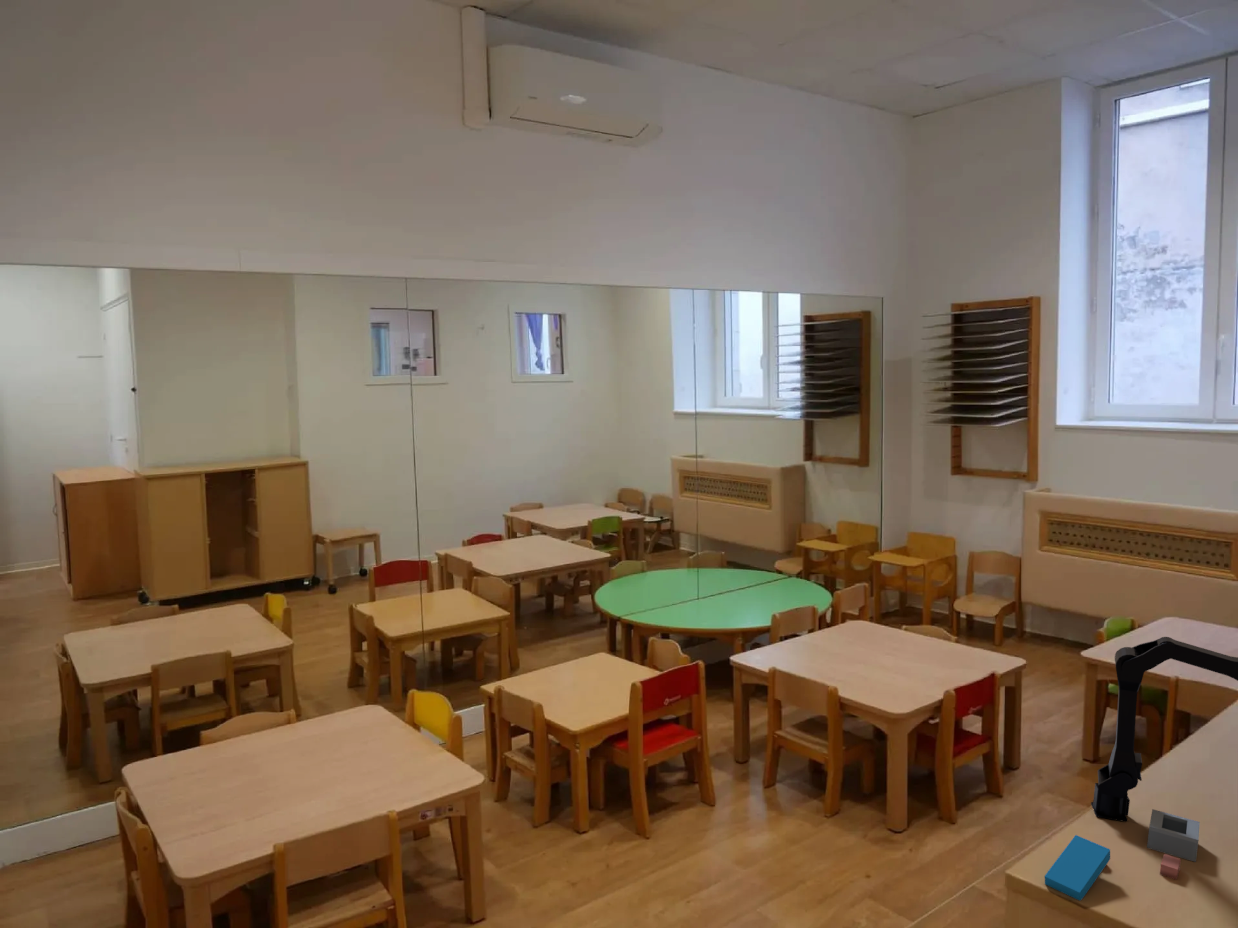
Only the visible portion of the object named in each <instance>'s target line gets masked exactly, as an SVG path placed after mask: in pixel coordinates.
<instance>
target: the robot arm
mask: <svg viewBox="0 0 1238 928" xmlns="http://www.w3.org/2000/svg"><path fill="white" fill-rule="evenodd" d="M1168 660H1173V661H1176V662H1177V661H1178V662H1180V663H1184V664H1188V665H1191V666H1193V667H1198V668H1201V669H1205V670H1207V671H1211V672H1214V673H1217V674H1221V675H1224V676H1226V677H1230V678H1231V679H1234V680H1236V681H1237V682H1238V656H1231V655H1228V654H1223V653H1221V652H1217V651H1213V650H1210V649H1206V648H1203V647H1200V646H1196V645H1194V644H1191V643H1190V644H1189V643H1186V642H1182V641H1179V640H1176V639H1173V638H1172V637H1169V636H1162V637H1159V638H1157V639H1155V640H1151V641H1147V642H1143V643H1140V644H1137V645H1134V646H1133V647H1131V646H1125V647H1121V648H1119V649H1118V650H1117V651H1116V652H1115V654H1114V662H1115V663H1114V665H1115V672H1116V678H1117V685H1118V686H1117V687H1118V690H1117V691H1118V696H1117V709H1116V710H1117V711H1116V729H1115V731H1116V732H1115V733H1116V734H1115V743H1114V746H1113V748H1112V750H1111V753H1110V754H1111V755H1110V758H1109V762H1108V764H1105V765H1104V766H1102V767H1100V768H1099V769H1097V781H1098V782H1095V783H1094V791H1093V800H1092V801H1091V802H1090V805H1091V808H1092V809H1094V810H1093V812H1094V814H1095V817H1097V818H1101V819H1109V820H1113V821H1119V822H1121V821H1122V822H1128V816H1129V813H1130V812H1129V811H1130V803H1131V801H1130V798H1129V795H1128V793H1129V791H1130V790H1133V789H1134V788H1136V787H1137V786H1138V784H1139V781H1143V780H1142V774H1141V773H1142V772H1141V771H1142V767H1143V760H1142V753H1141V752H1135V738H1136V737H1135V736H1136V719H1137V718H1136V717H1137V701H1138V693H1139V689H1140V687H1141V685H1142V681H1143V678H1144V674H1145V672H1147V671H1150V670H1152V669H1154V668H1156V667H1158V666H1159V665H1162V663H1164V662H1165V661H1168Z"/></svg>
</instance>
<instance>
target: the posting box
mask: <svg viewBox="0 0 1238 928" xmlns="http://www.w3.org/2000/svg"><path fill="white" fill-rule="evenodd" d="M1150 815H1151V816H1150V822H1149V828H1148V836H1147V843H1146V844H1147V845H1146V848H1147V849H1149V850H1154V851H1157V852H1160V853H1164V854H1167V855H1170V856H1173V857H1176V858H1179V859H1184V860H1187V861H1192V862H1194V863H1196V862H1197V856H1198V849H1199V840H1200V838H1199V837H1200V823H1201V822H1200V821H1197V820H1194V819H1191V818H1186V817H1183V816H1179V815H1176V814H1172V813H1168V812H1165V811H1160V810H1157V809H1153V808H1152V809H1151V814H1150Z"/></svg>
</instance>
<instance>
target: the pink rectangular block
mask: <svg viewBox="0 0 1238 928" xmlns="http://www.w3.org/2000/svg"><path fill="white" fill-rule="evenodd" d="M1181 860H1182V858H1180V857H1177V856H1174V855H1170V854H1167V853H1164V854H1163V857H1162V859H1161V863H1160V869H1159V870H1160V871H1159V875H1160V876H1164V877H1166V878H1169V879H1171V880H1172V879H1173V880H1175V881H1177V880H1178V876H1179V873H1180V871H1181Z"/></svg>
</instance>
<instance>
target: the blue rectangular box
mask: <svg viewBox="0 0 1238 928" xmlns="http://www.w3.org/2000/svg"><path fill="white" fill-rule="evenodd" d="M1110 860H1111V849H1110V848H1107V847H1106V846H1102V845H1101V844H1098V843H1096V842H1093V841H1091V840H1089V839H1087V838H1084V837H1082V836H1079V835H1077V834H1075V835H1074V836H1073V838H1072V839H1071V840H1070V842H1069V843H1068V844H1067V846H1066V847H1065V848H1064V850H1063V851H1062V852H1061V854H1060V855H1059V856H1058V857H1057V859H1056V860H1055V861H1054V863H1053V864H1052V866H1050V868H1049V870H1047V872H1046V873H1045V875H1044V885H1046V886H1047V887H1050V888H1052V889H1054V890H1056V891H1058V892H1060V893H1063V894H1065V895H1067V896H1069V897H1071V898H1073V899H1075V900H1077V901H1082V900H1083V899H1084V898H1085V896H1086V895H1087V893H1088V892H1089V890H1090V889H1091V888H1092V886H1093V884H1094V883H1095V882H1096V880H1097V879H1098V877H1099V875H1100V874H1101V873H1102V872H1103V870H1104V868H1106V866H1107V864H1108V863H1109V862H1110Z"/></svg>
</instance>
